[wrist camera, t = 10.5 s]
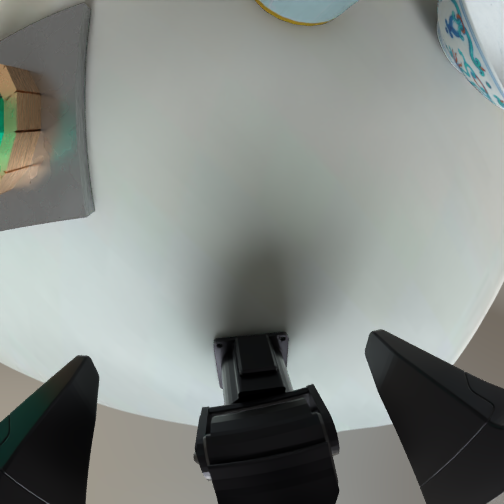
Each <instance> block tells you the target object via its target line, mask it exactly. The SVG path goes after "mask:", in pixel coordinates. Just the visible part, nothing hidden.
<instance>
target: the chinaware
mask: <svg viewBox="0 0 504 504" xmlns="http://www.w3.org/2000/svg"><path fill="white" fill-rule="evenodd" d="M437 14H438V21H437V35H438V39H439V42H440V45H441V47H442V49H443V51H444V53H445V55H446V57H447V58H448V60H449V61H450V62H451V64H452V65H453V66H454V67H455V68H456V69H457V70H458V71H460V72H461V73H463V75H464V76H465V77H466V78H467V79H468V81H469V82H470V83H471V84H472V85H473V86H474V87H475V88H476V89H477V90H478V91H479V92H480V93H481V94H482V95H483V96H484V97H486V98H487V99H488V100H489V101H491V102H492V103H493V104H495V105H496V106H498V107H499V108H501V109H503V110H504V0H438V1H437Z"/></svg>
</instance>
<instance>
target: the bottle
mask: <svg viewBox="0 0 504 504" xmlns="http://www.w3.org/2000/svg"><path fill="white" fill-rule="evenodd" d="M255 1H256V2H257V3H258V4H259V5H260V6H261V7H262V8H263V9H264V10H265V11H266V12H268V13H270V14H271V15H273V16H275V17H276V18H278V19H280V20H283V21H286V22H289V23H292V24H297V25H306V26H314V25H321V24H325V23H327V22H329V21H331V20H333V19H334V18H336V17H337V16H339V15H340V14H341V13H343V12H344V11H345V10H347V9H348V8H349V7H350V6H352V5H353V4H354V3H356V2H357V1H358V0H255Z"/></svg>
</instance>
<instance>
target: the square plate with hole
mask: <svg viewBox="0 0 504 504" xmlns="http://www.w3.org/2000/svg"><path fill="white" fill-rule="evenodd" d="M90 13H91V9H90V8H89V7H88V6H87V5H86V4H85V3H81V4H78V5H75V6H73V7H70V8H67V9H65V10H62V11H60V12H57V13H55V14H53V15H50V16H48V17H46V18H44V19H41V20H39V21H37V22H35V23H33V24H31V25H29V26H27V27H25V28H23V29H21V30H19V31H17V32H16V33H14V34H12V35H10V36H8V37H7V38H5V39H3V40H2V41H0V97H2V98H3V100H4V134H3V138H2V141H1V145H0V231H4V230H9V229H15V228H20V227H26V226H32V225H38V224H44V223H50V222H56V221H63V220H70V219H77V218H84V217H87V216H89V215H90V214H92V213H93V212H94V205H93V199H92V192H91V184H90V176H89V167H88V157H87V145H86V128H85V65H86V49H87V38H88V29H89V21H90Z"/></svg>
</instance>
